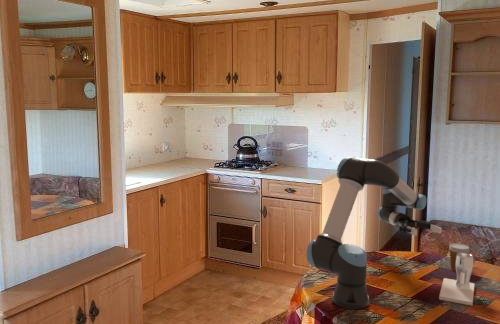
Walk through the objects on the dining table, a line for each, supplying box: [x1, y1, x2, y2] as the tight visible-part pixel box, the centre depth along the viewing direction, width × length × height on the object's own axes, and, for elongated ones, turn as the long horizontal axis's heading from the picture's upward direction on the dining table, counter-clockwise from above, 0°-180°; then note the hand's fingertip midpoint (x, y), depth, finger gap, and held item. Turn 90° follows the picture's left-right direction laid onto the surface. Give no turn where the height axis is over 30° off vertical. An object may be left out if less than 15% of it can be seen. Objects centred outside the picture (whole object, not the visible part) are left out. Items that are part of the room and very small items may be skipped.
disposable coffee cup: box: [448, 242, 471, 272], centre depth 235 cm, size 10×10×12 cm
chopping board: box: [438, 277, 475, 306], centre depth 209 cm, size 22×13×2 cm, turn 153°
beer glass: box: [455, 253, 474, 290], centre depth 209 cm, size 7×7×15 cm
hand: (428, 231), depth 218 cm, fingers open, 13 cm apart
